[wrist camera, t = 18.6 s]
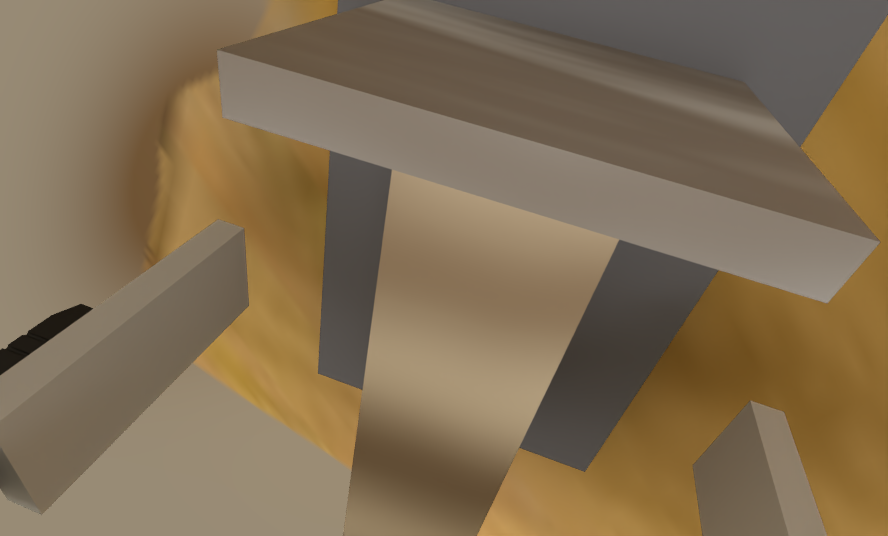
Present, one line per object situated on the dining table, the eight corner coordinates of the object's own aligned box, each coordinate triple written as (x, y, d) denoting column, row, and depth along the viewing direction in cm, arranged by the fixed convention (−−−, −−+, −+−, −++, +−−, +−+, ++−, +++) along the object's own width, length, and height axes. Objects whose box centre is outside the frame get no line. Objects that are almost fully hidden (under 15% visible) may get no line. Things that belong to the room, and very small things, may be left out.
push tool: (546, 446, 22) (518, 658, 16) (358, 378, 23) (259, 550, 17) (743, 82, 12) (880, 242, 6) (406, -7, 13) (216, 49, 7)
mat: (585, 456, 23) (584, 471, 22) (325, 361, 24) (318, 373, 24) (913, -54, 11) (931, -53, 10) (362, -179, 12) (347, -185, 12)
